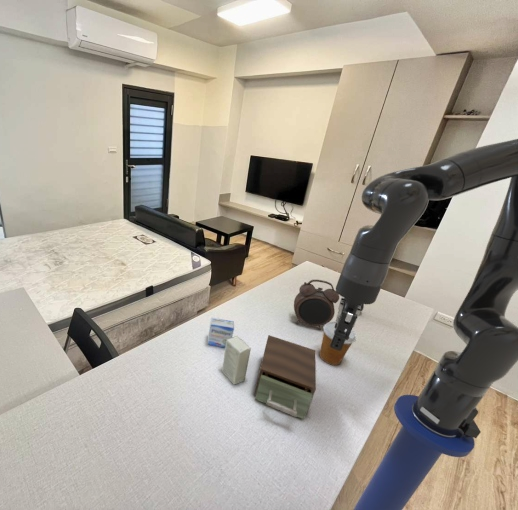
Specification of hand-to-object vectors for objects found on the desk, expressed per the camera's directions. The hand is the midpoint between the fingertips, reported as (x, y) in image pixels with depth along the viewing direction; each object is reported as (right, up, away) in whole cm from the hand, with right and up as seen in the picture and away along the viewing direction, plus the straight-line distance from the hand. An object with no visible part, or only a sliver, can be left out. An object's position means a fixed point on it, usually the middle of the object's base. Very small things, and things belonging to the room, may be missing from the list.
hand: (337, 338), depth 64 cm
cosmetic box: (-20, -17, +20) cm, 34 cm away
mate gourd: (+41, -6, +60) cm, 73 cm away
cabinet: (-6, -19, +18) cm, 27 cm away
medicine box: (-23, -12, +33) cm, 42 cm away
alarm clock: (+16, -9, +48) cm, 51 cm away
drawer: (-8, -20, +14) cm, 26 cm away
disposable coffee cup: (+15, -16, +31) cm, 38 cm away
